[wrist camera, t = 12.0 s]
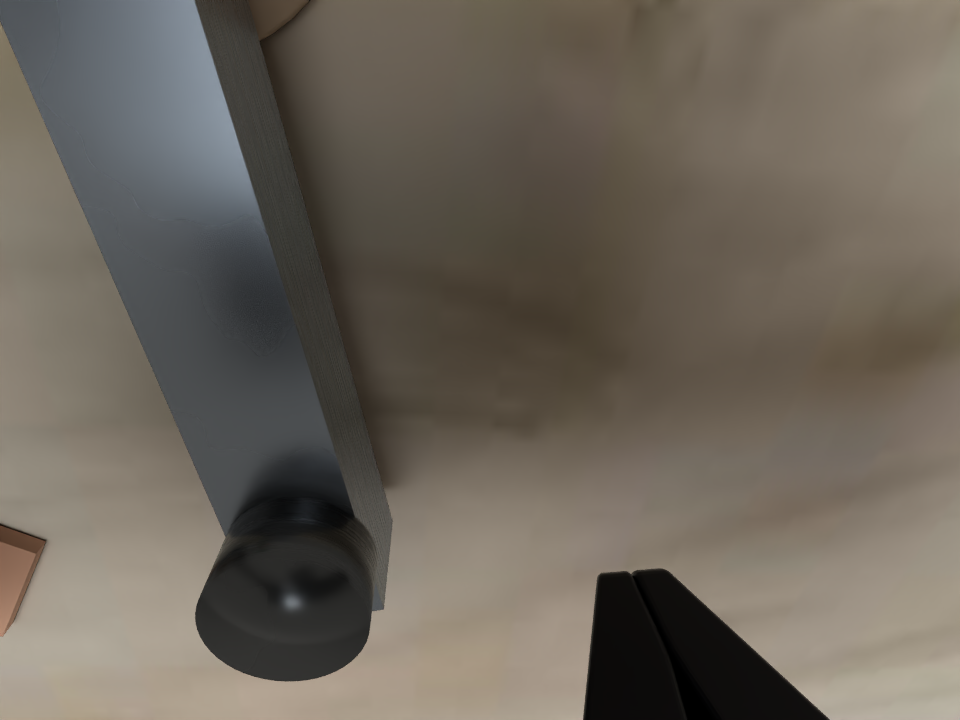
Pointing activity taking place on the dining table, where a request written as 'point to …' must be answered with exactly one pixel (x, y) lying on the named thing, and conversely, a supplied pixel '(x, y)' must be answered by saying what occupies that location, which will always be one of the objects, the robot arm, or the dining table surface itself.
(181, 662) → the dining table surface
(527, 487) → the dining table surface
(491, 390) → the dining table surface
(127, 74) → the lever
